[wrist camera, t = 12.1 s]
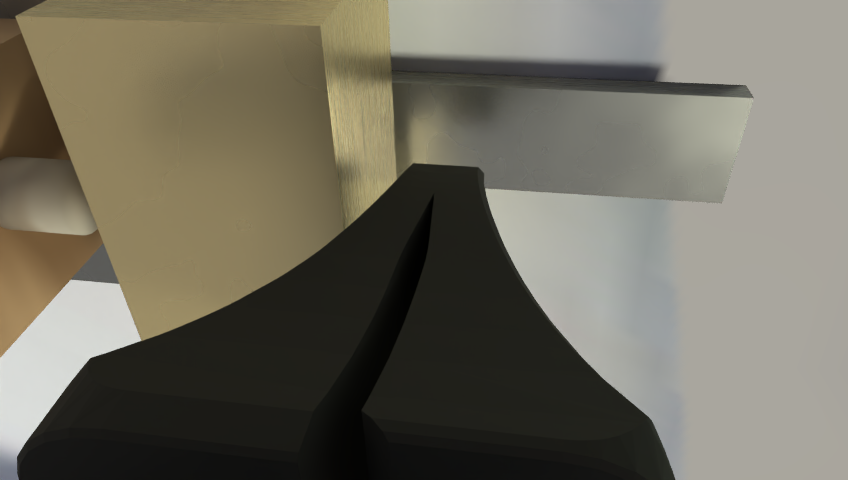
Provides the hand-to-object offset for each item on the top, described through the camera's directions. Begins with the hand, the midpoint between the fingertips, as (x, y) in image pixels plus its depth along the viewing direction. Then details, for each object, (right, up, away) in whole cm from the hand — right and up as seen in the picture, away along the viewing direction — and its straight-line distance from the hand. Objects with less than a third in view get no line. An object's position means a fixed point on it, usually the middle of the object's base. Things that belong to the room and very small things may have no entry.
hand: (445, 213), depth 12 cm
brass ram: (-3, +1, +2) cm, 4 cm away
